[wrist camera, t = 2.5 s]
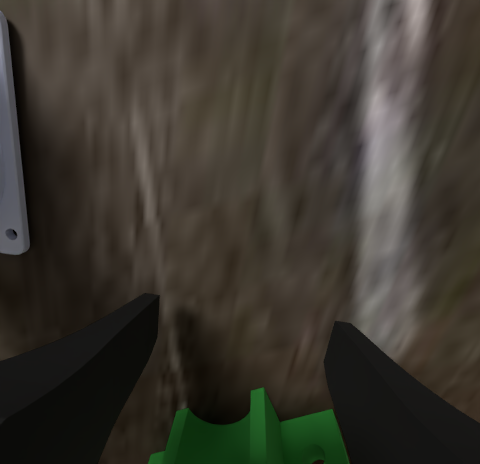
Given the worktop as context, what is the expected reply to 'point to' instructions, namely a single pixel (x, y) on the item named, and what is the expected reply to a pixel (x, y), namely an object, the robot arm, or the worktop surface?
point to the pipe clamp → (254, 438)
